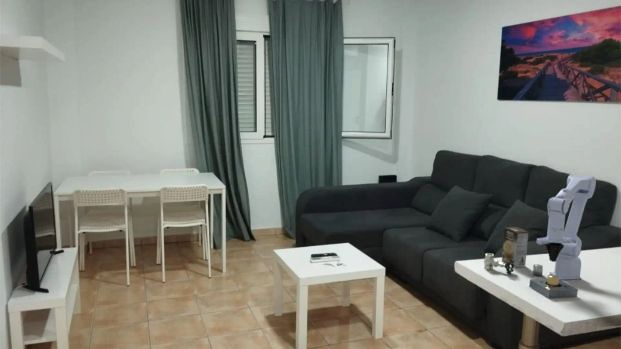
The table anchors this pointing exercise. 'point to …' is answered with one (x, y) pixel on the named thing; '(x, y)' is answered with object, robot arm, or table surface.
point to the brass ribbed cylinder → (553, 280)
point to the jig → (553, 289)
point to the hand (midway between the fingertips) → (552, 260)
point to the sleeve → (537, 270)
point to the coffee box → (515, 246)
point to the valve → (497, 263)
